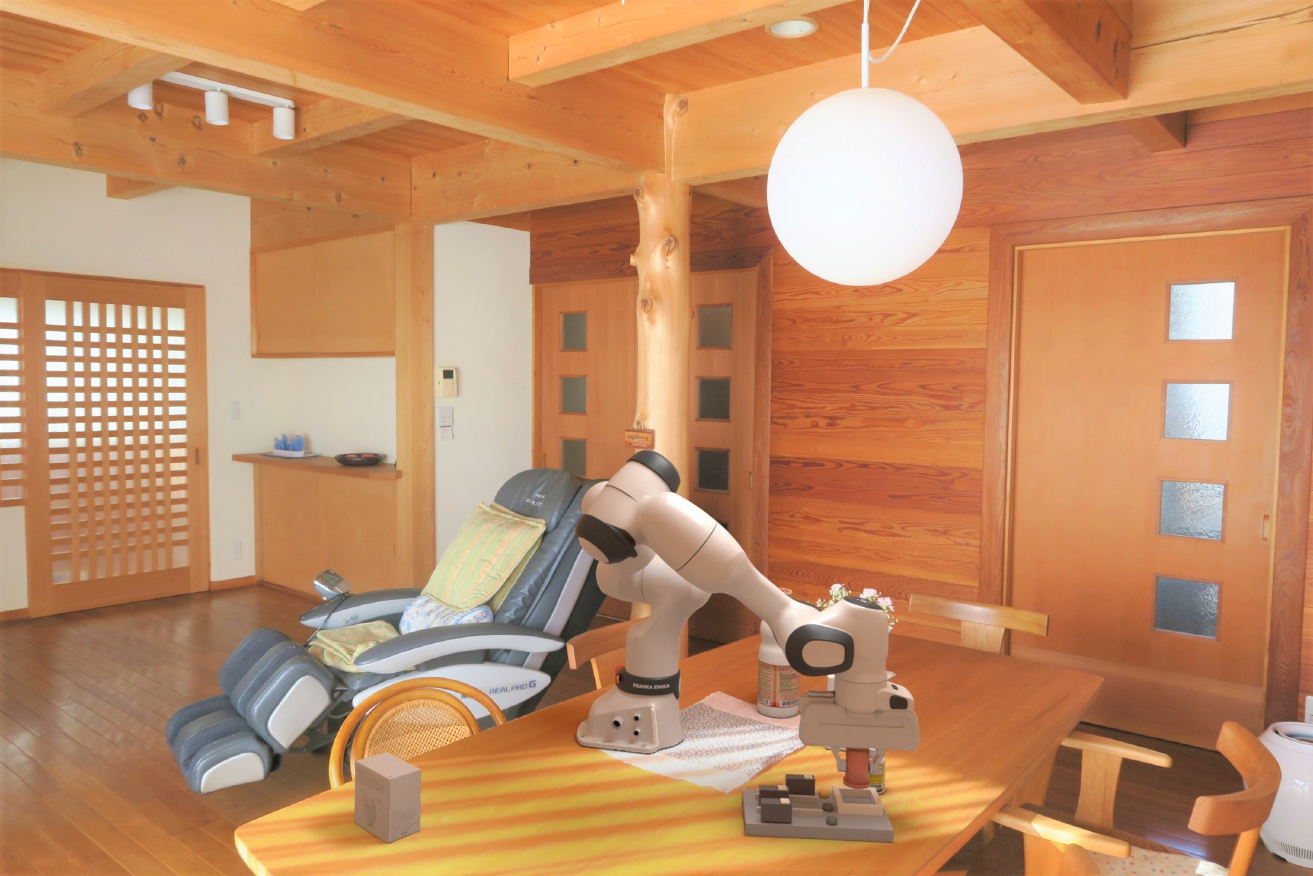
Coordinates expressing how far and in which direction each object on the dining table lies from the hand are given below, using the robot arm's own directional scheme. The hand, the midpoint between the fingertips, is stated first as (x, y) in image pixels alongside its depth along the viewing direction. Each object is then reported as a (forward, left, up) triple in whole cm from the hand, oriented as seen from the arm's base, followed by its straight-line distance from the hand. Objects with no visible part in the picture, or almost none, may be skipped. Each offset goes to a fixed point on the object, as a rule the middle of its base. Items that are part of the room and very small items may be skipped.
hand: (857, 771), depth 158 cm
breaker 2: (-14, -7, -6) cm, 17 cm away
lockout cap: (0, 0, -2) cm, 2 cm away
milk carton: (+3, +32, -8) cm, 33 cm away
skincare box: (-78, -11, -8) cm, 79 cm away
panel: (-7, -2, -8) cm, 11 cm away
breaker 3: (-9, +3, -6) cm, 11 cm away
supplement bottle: (+5, +11, -8) cm, 15 cm away
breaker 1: (-14, -2, -6) cm, 16 cm away
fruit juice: (-9, +50, -8) cm, 52 cm away
